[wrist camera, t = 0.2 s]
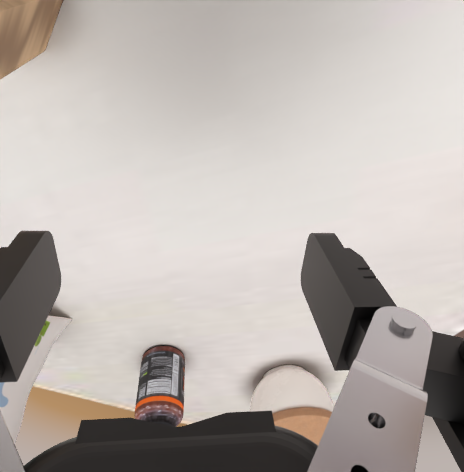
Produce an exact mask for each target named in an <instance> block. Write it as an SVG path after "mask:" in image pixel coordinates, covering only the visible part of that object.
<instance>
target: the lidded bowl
mask: <svg viewBox="0 0 464 472" xmlns="http://www.w3.org/2000/svg"><path fill="white" fill-rule="evenodd" d="M334 407H335V405H334V403H333V401H332V399H331V396H330V394H329V392H328V391H327V389H326V387H325V386H324V385H323V383H322V382H321V381H320V380H319V379H318V378H317V377H315V376H314V375H313V374H311V373H309V372H307V371H306V370H305V369H304V368H302V367H300V366H296V365H283V366H278V367H275V368H273V369H271V370H269V371H268V372H267V373H265V375H264V376H263V379H262V380H261V381H260V382H259V384H258V385H257V387H256V389H255V391H254V393H253V396H252V400H251V406H250V412H252V411H272V414H273V419H274V424H275V426H279V427H283V428H286V429H289V430H292V431H294V432H296V433H298V434H300V435H303V436H304V437H306V438H308V439H309V440H311V441H312V442H314V443H315V444H316V445H319V443H320V440H321V438H322V435H323V433H324V431H325V428H326V426H327V423H328V421H329V419H330V416H331V414H332V411H333V409H334Z"/></svg>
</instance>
